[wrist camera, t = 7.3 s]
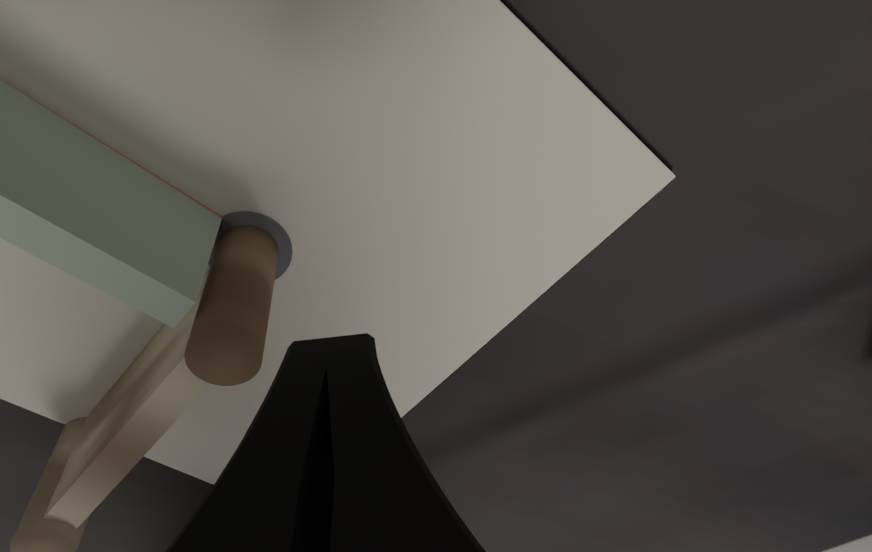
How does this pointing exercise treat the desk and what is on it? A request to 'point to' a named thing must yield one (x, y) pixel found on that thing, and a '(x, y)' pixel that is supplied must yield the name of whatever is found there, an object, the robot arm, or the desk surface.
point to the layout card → (318, 182)
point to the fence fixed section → (157, 391)
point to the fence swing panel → (99, 213)
